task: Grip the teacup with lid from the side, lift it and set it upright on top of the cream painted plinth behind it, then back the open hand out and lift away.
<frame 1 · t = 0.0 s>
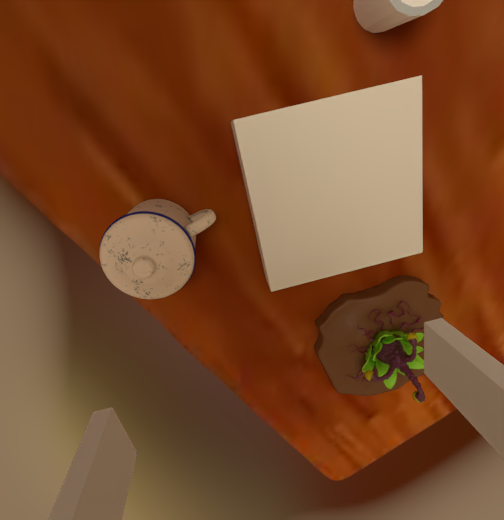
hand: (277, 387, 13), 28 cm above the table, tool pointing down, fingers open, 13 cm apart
teacup with lid: (171, 227, 38), on the table
plant: (374, 336, 49), on the table
plinth: (326, 188, 39), on the table
white cup: (377, 1, 32), on the table
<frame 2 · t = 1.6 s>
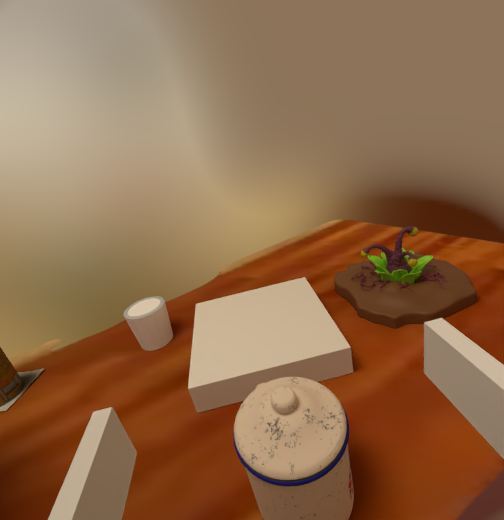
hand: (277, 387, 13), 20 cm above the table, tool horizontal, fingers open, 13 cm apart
teacup with lid: (296, 475, 29), on the table
plant: (400, 291, 53), on the table
plinth: (263, 342, 47), on the table
white cup: (157, 340, 54), on the table
condiment: (9, 392, 50), on the table
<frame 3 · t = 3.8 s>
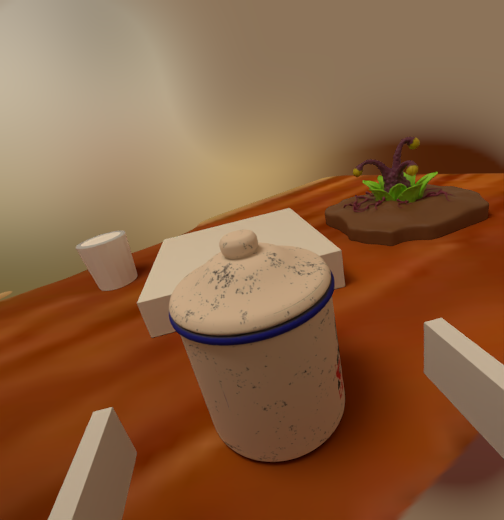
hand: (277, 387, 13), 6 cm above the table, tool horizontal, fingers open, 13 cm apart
teacup with lid: (268, 387, 22), on the table
plant: (400, 219, 46), on the table
plinth: (239, 272, 40), on the table
white cup: (119, 282, 47), on the table
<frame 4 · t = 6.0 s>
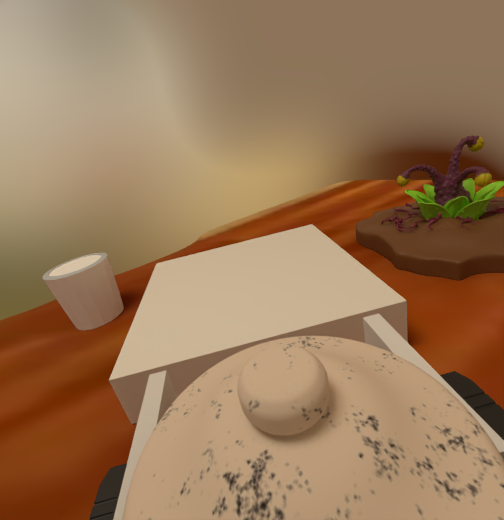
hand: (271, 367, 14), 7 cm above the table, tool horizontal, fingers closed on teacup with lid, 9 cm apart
plant: (453, 239, 37), on the table
plinth: (252, 311, 31), on the table
white cup: (101, 317, 37), on the table
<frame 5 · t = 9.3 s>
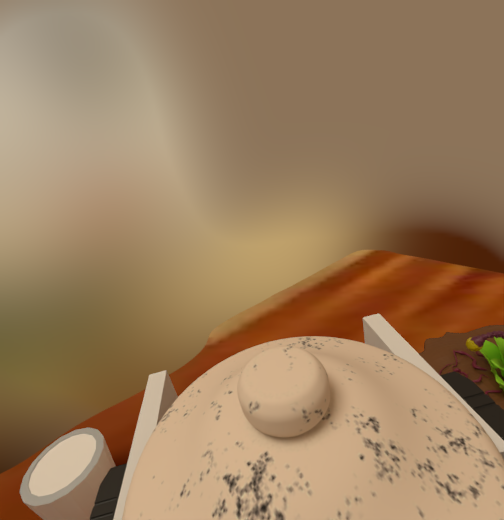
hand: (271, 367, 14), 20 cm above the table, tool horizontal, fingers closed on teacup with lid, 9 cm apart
white cup: (96, 509, 30), on the table
when the fingers open (12 cm above the table, at t = 12.3 s): teacup with lid drops 1 cm, resting on plinth.
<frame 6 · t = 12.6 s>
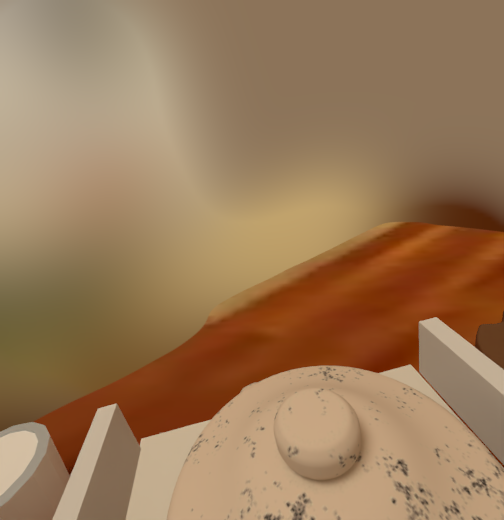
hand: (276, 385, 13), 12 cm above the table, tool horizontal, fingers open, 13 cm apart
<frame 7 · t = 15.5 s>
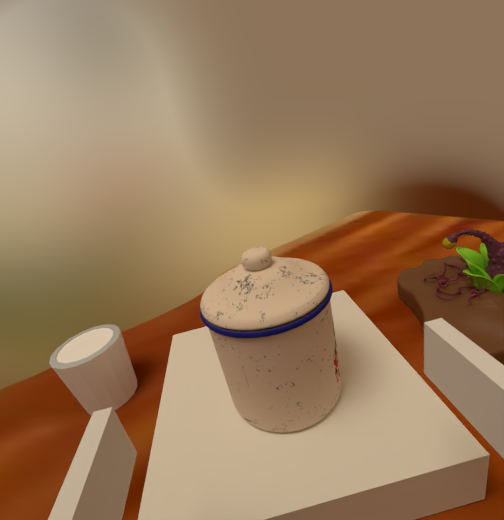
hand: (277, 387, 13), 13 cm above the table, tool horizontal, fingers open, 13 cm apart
teacup with lid: (278, 376, 26), point 4 cm above the table, touching plinth
plinth: (285, 408, 27), on the table
white cup: (112, 395, 34), on the table
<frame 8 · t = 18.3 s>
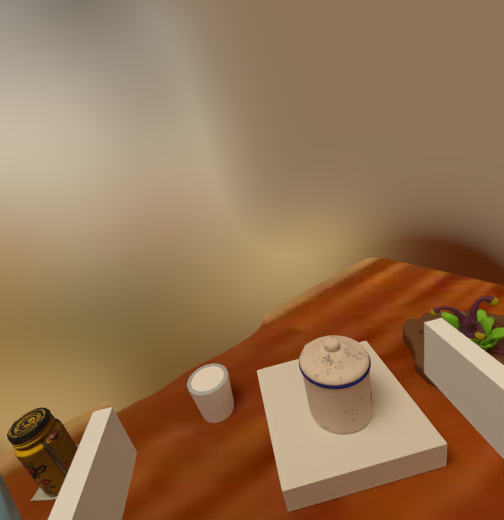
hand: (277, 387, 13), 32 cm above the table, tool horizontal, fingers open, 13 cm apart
teacup with lid: (334, 400, 45), point 4 cm above the table, touching plinth
plant: (471, 355, 52), on the table
plinth: (336, 419, 46), on the table
white cup: (218, 409, 53), on the table
condiment: (71, 470, 48), on the table
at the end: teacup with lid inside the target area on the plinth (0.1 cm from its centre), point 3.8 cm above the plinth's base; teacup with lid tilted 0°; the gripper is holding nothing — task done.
